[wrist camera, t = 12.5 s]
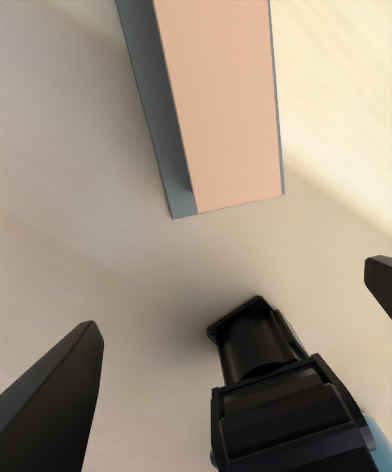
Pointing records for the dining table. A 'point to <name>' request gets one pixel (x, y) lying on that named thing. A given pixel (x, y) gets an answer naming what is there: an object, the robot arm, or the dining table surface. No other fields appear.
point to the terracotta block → (222, 97)
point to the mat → (166, 102)
